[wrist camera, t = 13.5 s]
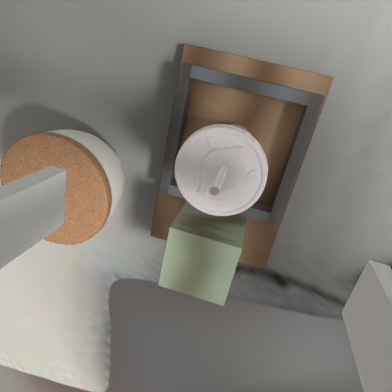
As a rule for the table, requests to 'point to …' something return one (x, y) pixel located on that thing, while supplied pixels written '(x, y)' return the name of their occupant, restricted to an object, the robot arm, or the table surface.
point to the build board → (271, 144)
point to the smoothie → (221, 169)
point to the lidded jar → (72, 178)
